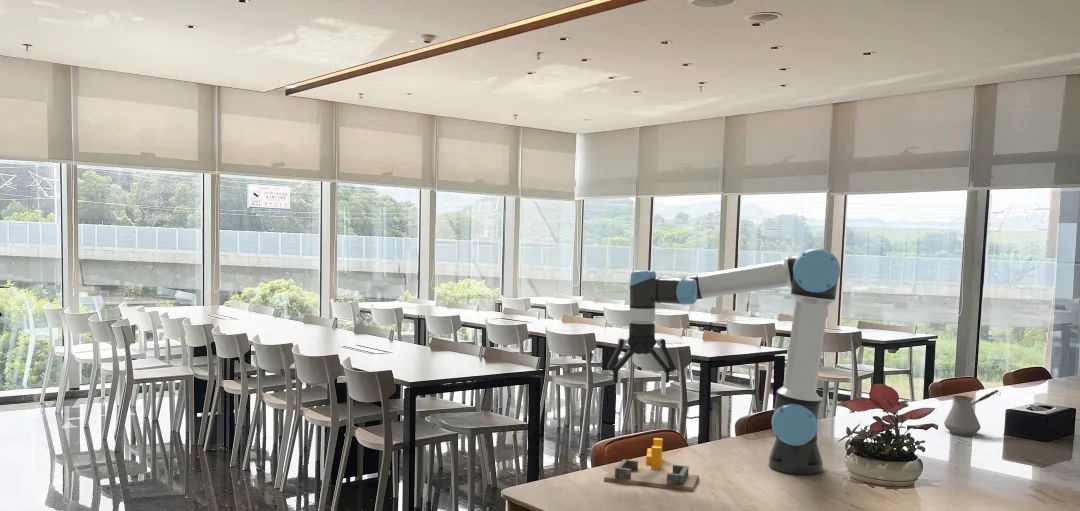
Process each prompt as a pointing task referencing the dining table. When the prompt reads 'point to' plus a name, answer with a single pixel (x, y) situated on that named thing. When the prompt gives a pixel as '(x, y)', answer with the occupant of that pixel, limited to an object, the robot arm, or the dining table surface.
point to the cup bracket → (652, 476)
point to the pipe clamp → (655, 454)
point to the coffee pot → (964, 415)
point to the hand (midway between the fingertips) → (640, 394)
